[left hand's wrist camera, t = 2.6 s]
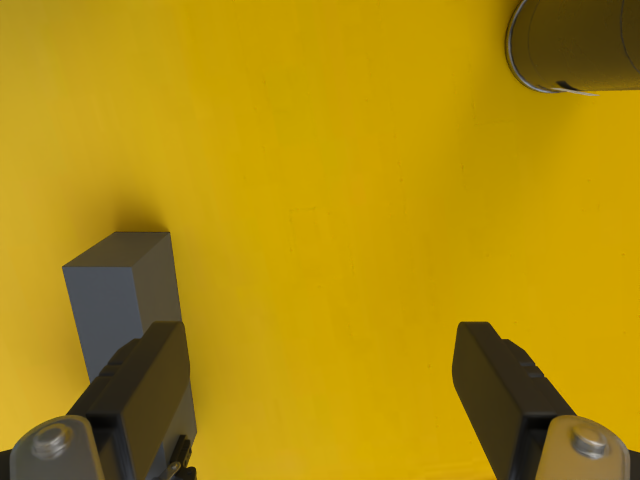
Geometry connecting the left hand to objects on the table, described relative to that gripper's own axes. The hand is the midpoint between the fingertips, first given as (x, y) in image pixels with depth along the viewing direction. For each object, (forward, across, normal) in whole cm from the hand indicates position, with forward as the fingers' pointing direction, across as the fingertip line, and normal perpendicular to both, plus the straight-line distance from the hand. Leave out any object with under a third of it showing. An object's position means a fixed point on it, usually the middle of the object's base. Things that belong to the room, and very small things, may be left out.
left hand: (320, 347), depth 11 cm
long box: (+29, +19, +20) cm, 40 cm away
